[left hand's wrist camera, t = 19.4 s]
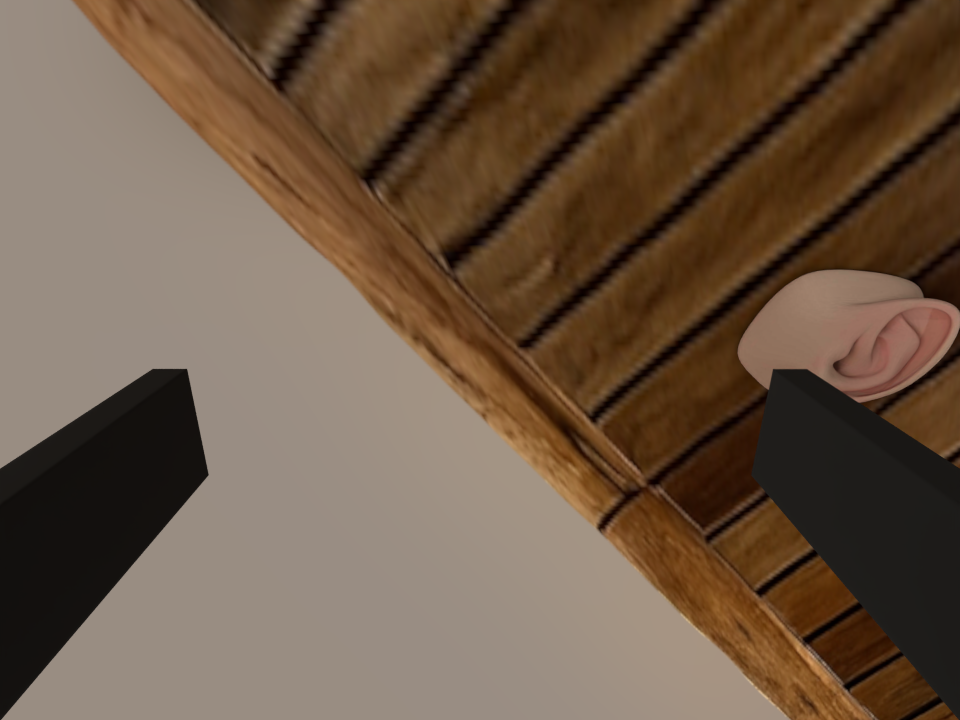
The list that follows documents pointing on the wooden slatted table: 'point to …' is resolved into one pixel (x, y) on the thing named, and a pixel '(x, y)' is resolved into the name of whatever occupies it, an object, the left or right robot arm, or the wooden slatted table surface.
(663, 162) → the wooden slatted table surface
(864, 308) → the anatomical model
